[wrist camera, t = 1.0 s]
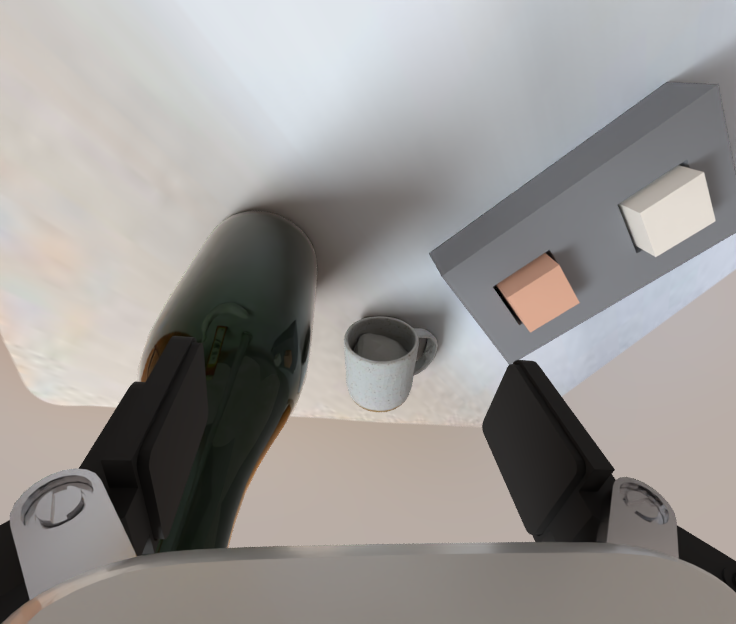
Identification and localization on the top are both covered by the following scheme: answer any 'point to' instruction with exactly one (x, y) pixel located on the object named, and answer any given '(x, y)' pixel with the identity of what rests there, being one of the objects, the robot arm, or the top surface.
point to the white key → (668, 210)
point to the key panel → (594, 216)
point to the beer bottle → (238, 360)
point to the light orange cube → (538, 292)
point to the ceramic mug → (384, 361)
